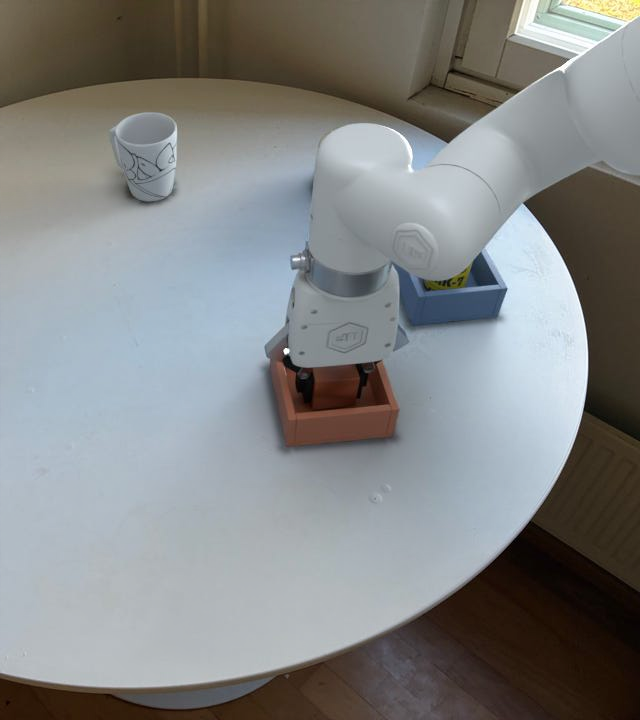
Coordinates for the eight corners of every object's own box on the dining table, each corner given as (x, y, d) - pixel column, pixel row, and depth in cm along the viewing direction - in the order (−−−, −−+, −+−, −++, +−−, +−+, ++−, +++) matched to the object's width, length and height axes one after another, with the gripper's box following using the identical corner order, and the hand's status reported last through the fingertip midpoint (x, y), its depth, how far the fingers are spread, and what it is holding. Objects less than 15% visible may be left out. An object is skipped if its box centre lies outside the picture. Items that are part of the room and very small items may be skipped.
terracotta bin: (366, 358, 87) (372, 330, 84) (392, 436, 80) (400, 409, 76) (269, 367, 87) (270, 339, 84) (286, 446, 80) (288, 420, 76)
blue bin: (469, 261, 97) (477, 232, 93) (497, 317, 90) (508, 288, 86) (389, 268, 97) (394, 240, 93) (411, 325, 90) (418, 297, 87)
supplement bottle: (421, 300, 92) (435, 245, 85) (422, 274, 95) (435, 219, 88) (463, 304, 91) (480, 249, 84) (463, 278, 94) (479, 223, 87)
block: (345, 373, 84) (349, 346, 80) (354, 406, 81) (360, 378, 77) (304, 377, 84) (307, 350, 80) (312, 410, 81) (315, 382, 77)
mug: (96, 185, 113) (87, 125, 106) (135, 159, 117) (128, 99, 110) (153, 214, 108) (147, 152, 100) (192, 185, 112) (189, 124, 104)
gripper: (260, 299, 66) (256, 426, 80) (456, 280, 66) (418, 410, 80) (248, 243, 71) (246, 372, 85) (430, 226, 71) (398, 357, 85)
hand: (329, 389), depth 82 cm, fingers closed on block, 4 cm apart
